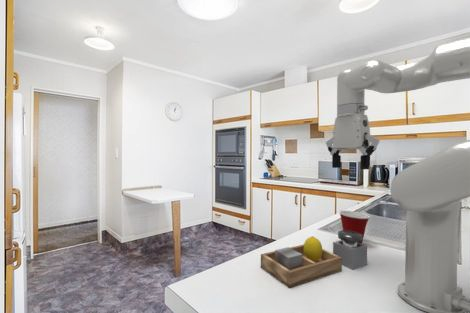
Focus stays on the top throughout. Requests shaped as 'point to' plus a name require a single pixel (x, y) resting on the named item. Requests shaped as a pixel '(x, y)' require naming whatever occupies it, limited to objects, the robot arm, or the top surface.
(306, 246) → the lemon
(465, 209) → the top surface
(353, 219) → the plastic cup
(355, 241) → the plunger
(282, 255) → the caddy
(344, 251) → the mount
